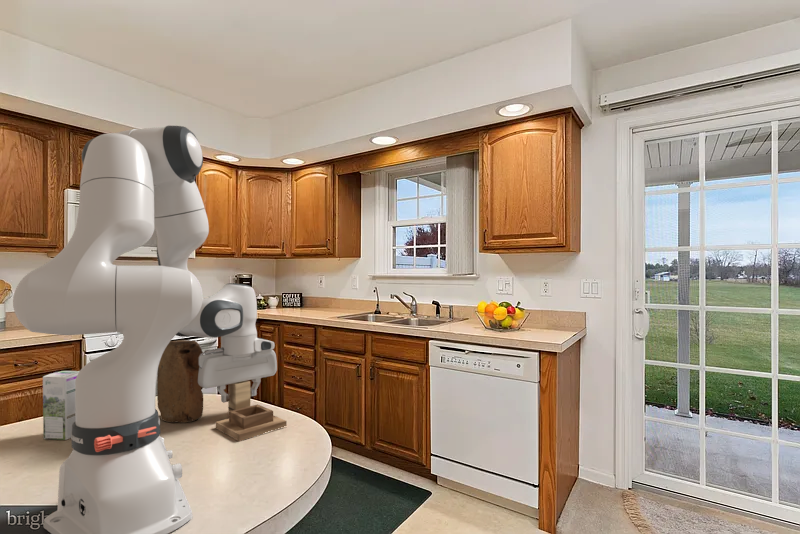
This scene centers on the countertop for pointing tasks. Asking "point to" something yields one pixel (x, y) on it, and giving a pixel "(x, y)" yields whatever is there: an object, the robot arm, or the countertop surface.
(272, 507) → the countertop surface
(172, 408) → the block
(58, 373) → the syrup box
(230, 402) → the peg
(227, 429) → the brown wooden socket base
